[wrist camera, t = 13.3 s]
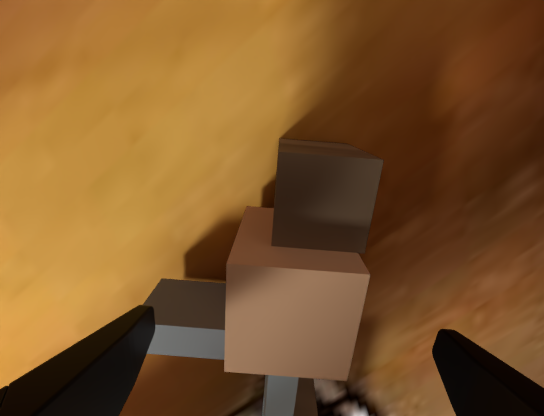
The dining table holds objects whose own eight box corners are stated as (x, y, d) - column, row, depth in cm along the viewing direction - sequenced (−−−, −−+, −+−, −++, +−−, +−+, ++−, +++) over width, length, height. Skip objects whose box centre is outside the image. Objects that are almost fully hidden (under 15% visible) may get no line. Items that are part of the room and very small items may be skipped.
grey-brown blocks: (299, 444, 19) (305, 542, 14) (255, 440, 19) (247, 537, 14) (347, 143, 12) (383, 159, 8) (279, 138, 12) (278, 151, 8)
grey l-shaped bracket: (281, 410, 17) (282, 494, 13) (175, 402, 17) (145, 483, 13) (297, 281, 14) (303, 342, 10) (167, 270, 14) (125, 328, 10)
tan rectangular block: (323, 288, 14) (346, 380, 9) (243, 282, 14) (224, 371, 9) (335, 213, 12) (370, 274, 8) (246, 206, 12) (226, 263, 8)
